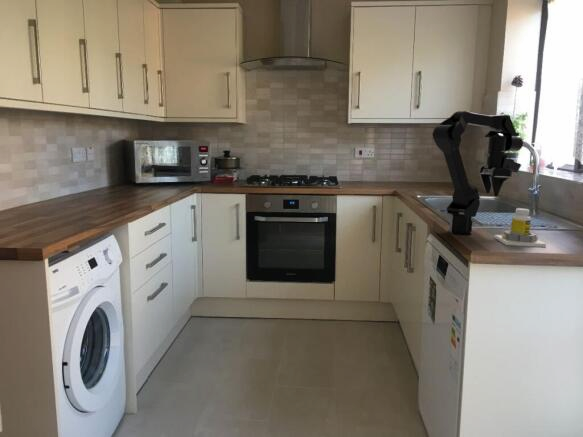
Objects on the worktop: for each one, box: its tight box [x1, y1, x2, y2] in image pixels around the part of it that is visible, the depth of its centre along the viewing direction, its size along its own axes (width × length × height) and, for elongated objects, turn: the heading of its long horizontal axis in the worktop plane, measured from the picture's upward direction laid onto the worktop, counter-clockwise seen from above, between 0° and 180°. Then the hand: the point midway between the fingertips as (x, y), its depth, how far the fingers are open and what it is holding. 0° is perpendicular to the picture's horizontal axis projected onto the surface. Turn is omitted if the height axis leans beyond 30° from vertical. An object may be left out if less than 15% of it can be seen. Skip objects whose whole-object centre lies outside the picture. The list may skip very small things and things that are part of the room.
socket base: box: [493, 229, 547, 248], centre depth 151 cm, size 12×11×3 cm
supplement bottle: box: [510, 207, 532, 235], centre depth 150 cm, size 5×5×10 cm
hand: (491, 194), depth 169 cm, fingers open, 9 cm apart
